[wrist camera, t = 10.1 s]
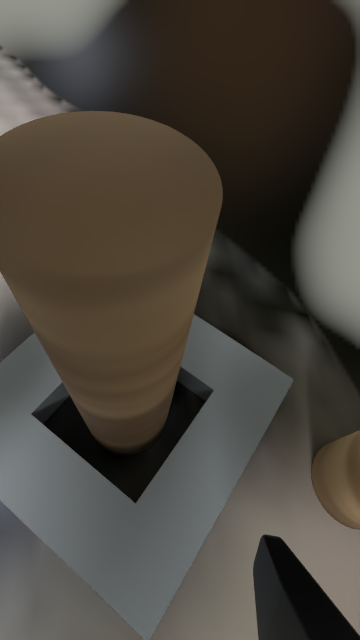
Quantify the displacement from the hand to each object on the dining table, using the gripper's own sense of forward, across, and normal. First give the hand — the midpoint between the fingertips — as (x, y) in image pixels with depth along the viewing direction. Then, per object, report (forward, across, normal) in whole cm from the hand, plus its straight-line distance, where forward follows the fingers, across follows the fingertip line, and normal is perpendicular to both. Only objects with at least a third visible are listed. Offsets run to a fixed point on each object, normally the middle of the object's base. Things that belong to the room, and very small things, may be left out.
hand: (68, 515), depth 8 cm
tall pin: (+9, 0, +2) cm, 10 cm away
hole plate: (+9, 0, +2) cm, 10 cm away
